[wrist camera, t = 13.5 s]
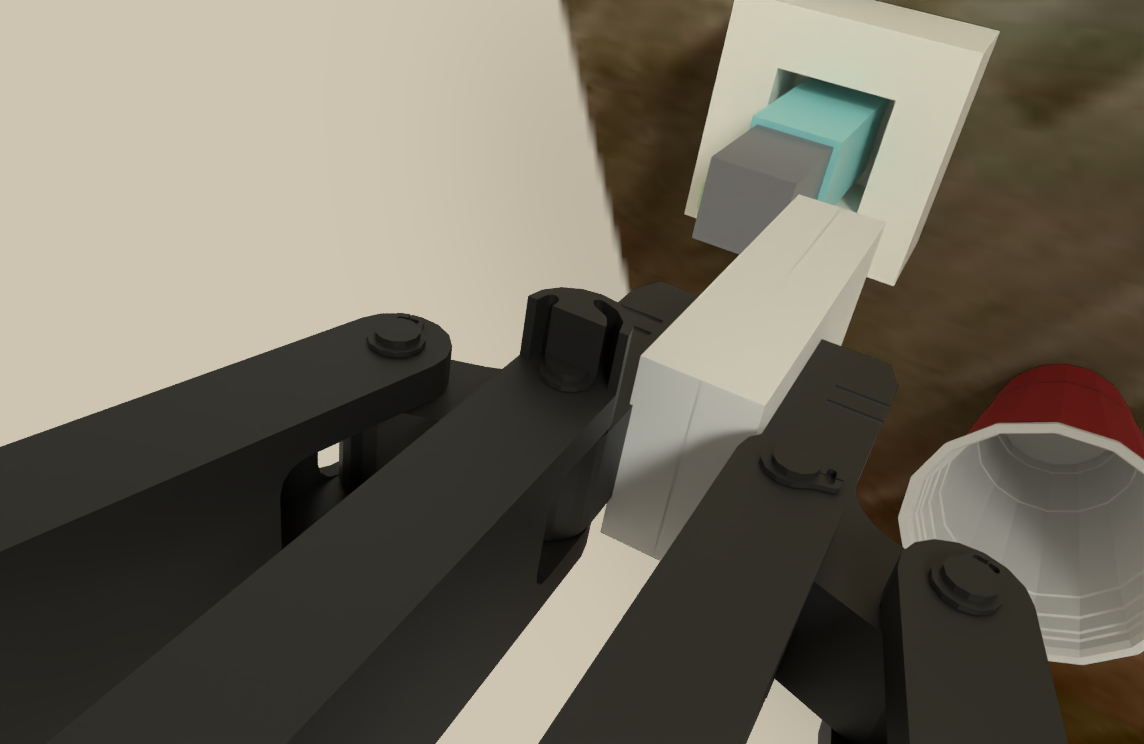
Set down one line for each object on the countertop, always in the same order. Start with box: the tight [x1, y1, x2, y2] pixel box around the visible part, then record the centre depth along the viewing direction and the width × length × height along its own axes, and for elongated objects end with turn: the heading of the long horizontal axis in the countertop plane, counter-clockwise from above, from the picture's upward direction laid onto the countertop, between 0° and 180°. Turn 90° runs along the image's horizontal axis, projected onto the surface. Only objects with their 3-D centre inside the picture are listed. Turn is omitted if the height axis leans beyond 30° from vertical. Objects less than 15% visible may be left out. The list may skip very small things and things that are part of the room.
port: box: [684, 0, 1000, 286], centre depth 41 cm, size 10×10×6 cm
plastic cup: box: [898, 364, 1144, 665], centre depth 41 cm, size 11×11×12 cm
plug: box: [692, 77, 889, 255], centre depth 37 cm, size 4×4×14 cm
